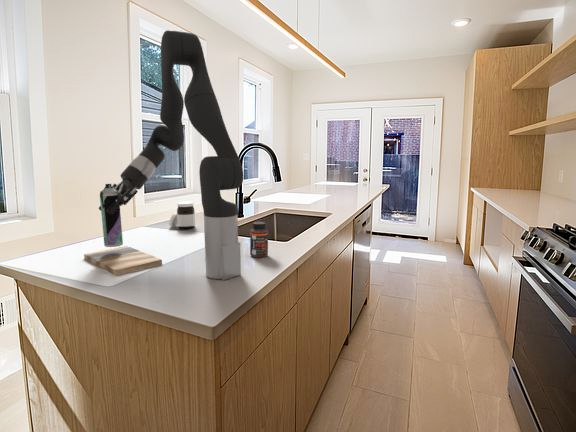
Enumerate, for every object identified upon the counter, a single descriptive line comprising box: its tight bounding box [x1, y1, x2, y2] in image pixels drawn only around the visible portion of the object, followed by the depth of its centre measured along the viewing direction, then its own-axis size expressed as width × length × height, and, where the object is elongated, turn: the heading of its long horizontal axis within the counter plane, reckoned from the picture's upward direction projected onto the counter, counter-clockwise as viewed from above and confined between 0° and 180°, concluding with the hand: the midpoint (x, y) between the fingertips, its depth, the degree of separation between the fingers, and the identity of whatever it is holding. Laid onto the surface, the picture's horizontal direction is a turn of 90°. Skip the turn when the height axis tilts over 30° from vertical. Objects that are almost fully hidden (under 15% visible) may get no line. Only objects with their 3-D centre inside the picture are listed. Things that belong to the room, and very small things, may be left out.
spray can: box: [99, 183, 124, 248], centre depth 119 cm, size 6×6×20 cm
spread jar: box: [168, 201, 196, 231], centre depth 167 cm, size 12×11×12 cm
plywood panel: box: [83, 245, 163, 276], centre depth 117 cm, size 24×14×2 cm, turn 48°
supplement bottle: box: [249, 221, 269, 259], centre depth 123 cm, size 6×6×11 cm
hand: (105, 211), depth 117 cm, fingers closed on spray can, 5 cm apart
